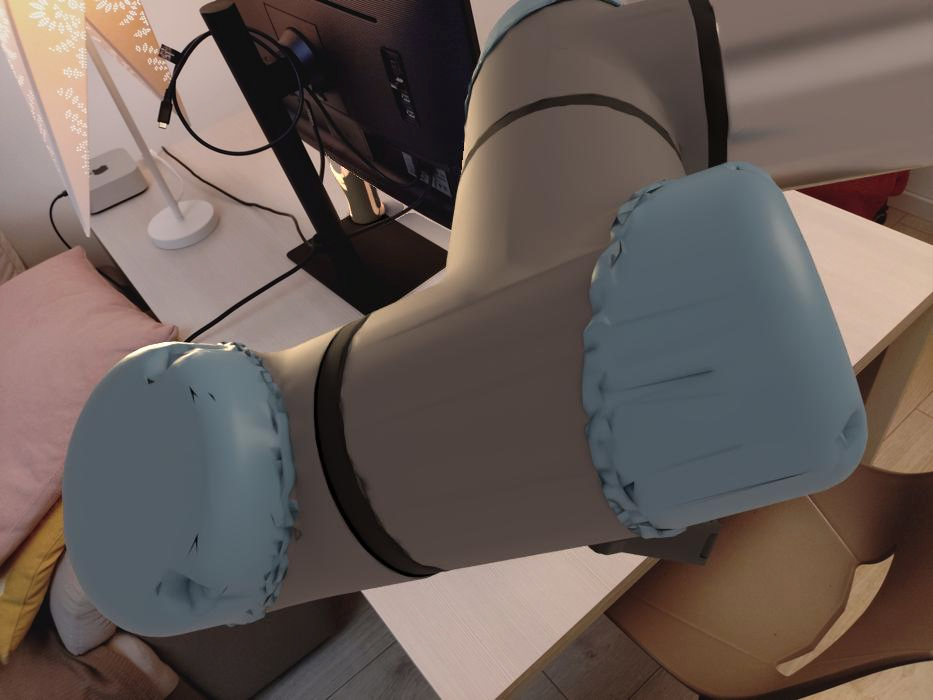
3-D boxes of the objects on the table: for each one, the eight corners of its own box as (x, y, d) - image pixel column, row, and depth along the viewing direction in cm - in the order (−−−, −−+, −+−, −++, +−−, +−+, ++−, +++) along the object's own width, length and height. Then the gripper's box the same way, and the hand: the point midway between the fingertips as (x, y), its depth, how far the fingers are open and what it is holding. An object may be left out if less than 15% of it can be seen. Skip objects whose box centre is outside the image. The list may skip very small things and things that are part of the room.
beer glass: (354, 230, 107) (326, 151, 96) (344, 210, 111) (316, 132, 100) (392, 216, 108) (368, 136, 97) (380, 197, 112) (356, 118, 101)
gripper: (250, 428, 35) (448, 435, 53) (677, 725, 22) (744, 601, 41) (299, 303, 34) (481, 353, 53) (764, 535, 22) (792, 496, 40)
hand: (596, 461), depth 47 cm, fingers open, 13 cm apart
